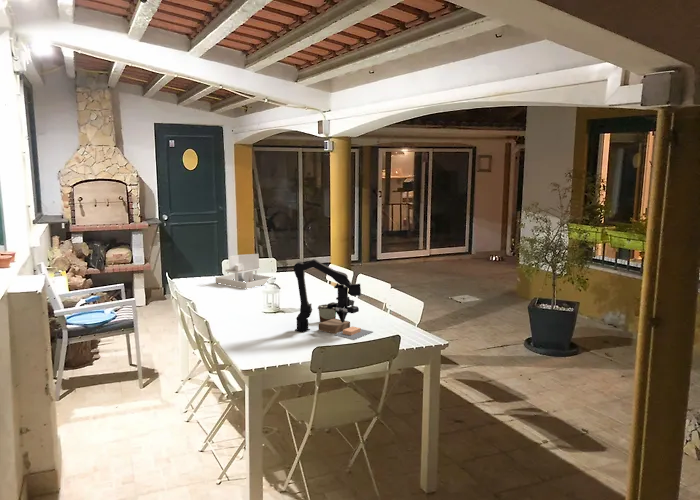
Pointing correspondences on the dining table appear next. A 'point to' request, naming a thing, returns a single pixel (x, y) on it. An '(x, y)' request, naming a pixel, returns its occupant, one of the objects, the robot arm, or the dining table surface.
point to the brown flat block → (333, 326)
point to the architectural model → (244, 266)
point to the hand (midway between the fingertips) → (342, 322)
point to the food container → (326, 313)
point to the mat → (355, 336)
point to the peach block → (351, 330)
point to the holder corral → (228, 281)
